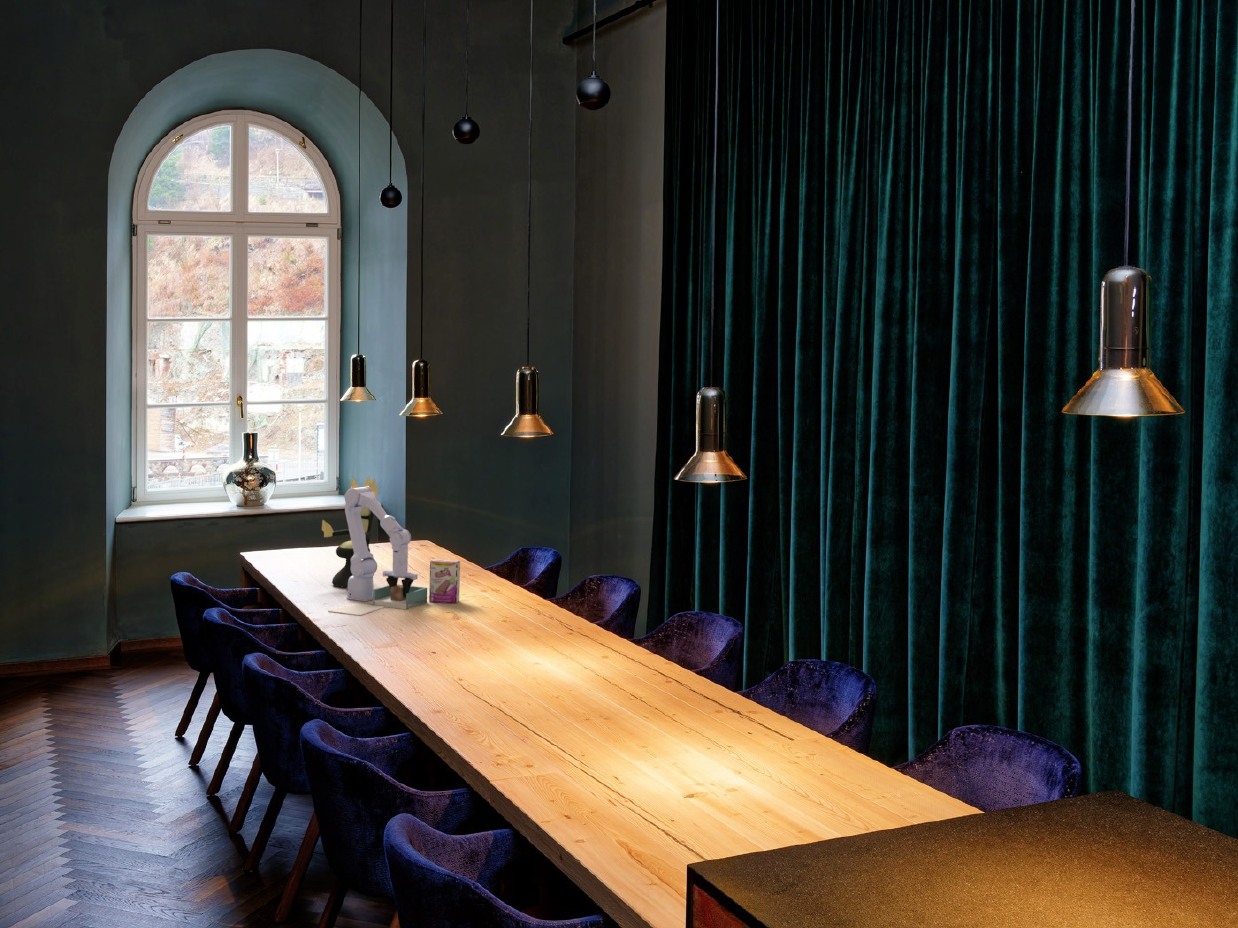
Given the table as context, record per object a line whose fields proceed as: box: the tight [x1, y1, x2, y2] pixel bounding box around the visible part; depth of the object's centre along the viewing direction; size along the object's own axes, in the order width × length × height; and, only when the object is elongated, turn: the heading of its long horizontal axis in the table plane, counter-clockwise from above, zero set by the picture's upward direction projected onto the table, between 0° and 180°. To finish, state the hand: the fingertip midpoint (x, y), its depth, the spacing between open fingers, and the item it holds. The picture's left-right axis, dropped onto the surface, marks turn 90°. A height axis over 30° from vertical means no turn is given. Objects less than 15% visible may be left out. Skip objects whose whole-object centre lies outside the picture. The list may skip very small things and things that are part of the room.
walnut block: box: [391, 584, 406, 601], centre depth 461 cm, size 4×6×5 cm
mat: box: [328, 602, 385, 617], centre depth 449 cm, size 14×16×1 cm
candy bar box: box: [428, 558, 461, 604], centre depth 467 cm, size 11×5×16 cm, turn 84°
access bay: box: [372, 583, 428, 610], centre depth 461 cm, size 16×14×6 cm
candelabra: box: [321, 475, 379, 589], centre depth 496 cm, size 19×22×45 cm
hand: (399, 596), depth 461 cm, fingers closed on walnut block, 4 cm apart
